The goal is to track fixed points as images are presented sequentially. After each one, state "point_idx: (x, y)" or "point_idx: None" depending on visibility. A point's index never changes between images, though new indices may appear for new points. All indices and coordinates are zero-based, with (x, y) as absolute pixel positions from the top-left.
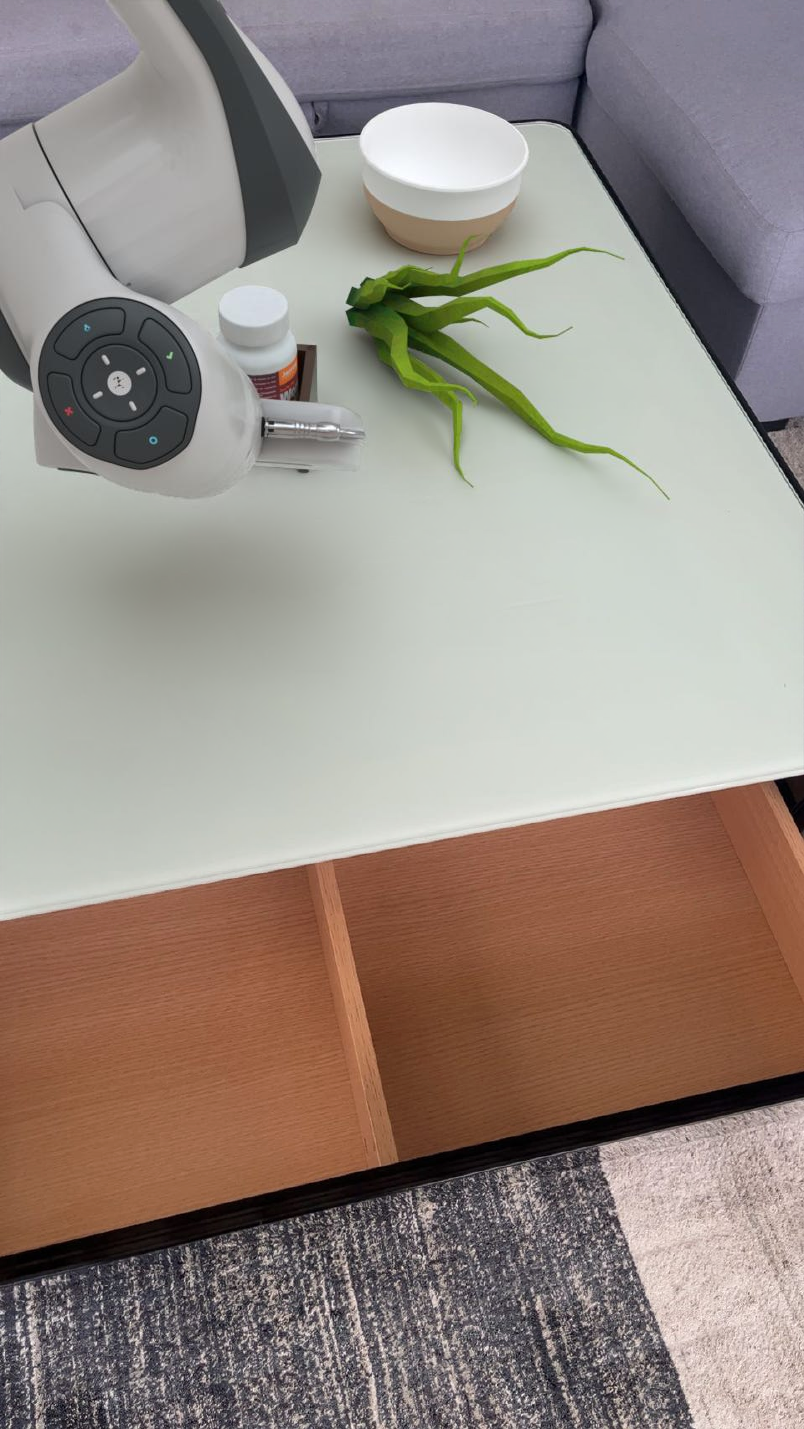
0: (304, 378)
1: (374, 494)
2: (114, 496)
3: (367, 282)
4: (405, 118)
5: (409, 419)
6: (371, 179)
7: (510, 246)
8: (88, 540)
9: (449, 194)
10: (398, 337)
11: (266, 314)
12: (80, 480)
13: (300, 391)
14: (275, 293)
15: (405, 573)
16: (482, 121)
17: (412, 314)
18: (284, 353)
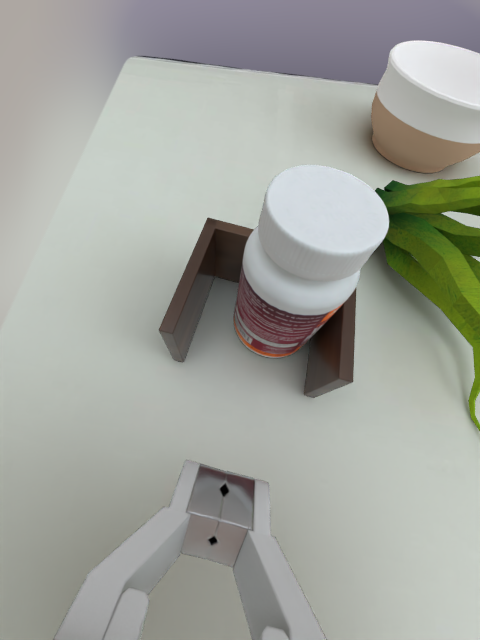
0: (346, 306)
1: (386, 446)
2: (94, 400)
3: (426, 188)
4: (417, 53)
5: (412, 336)
6: (393, 93)
7: (464, 173)
8: (35, 479)
9: (476, 113)
10: (455, 264)
11: (353, 228)
12: (64, 367)
13: (342, 329)
14: (364, 187)
15: (440, 626)
16: (478, 65)
17: (448, 230)
18: (348, 289)
